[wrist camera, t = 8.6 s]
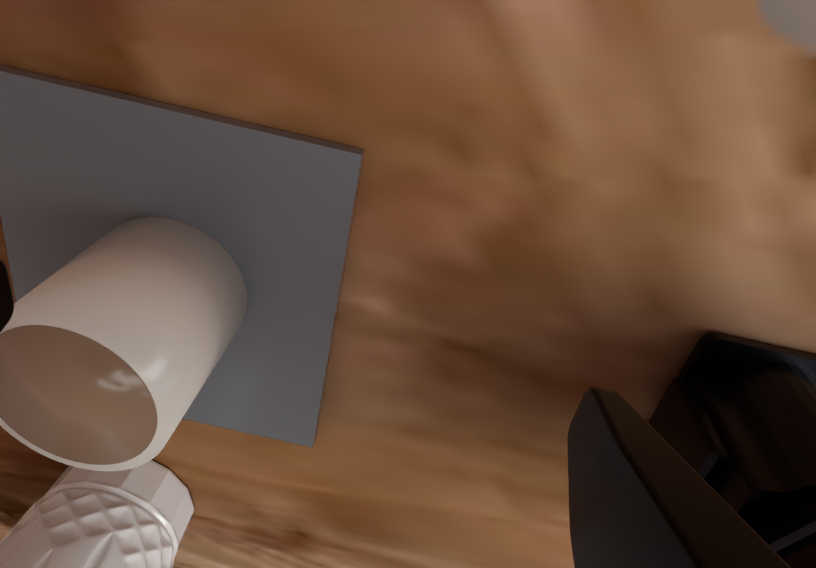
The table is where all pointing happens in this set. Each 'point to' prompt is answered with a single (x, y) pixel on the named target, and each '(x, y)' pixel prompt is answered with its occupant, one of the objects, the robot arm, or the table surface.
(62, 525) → the white cup
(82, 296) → the espresso cup
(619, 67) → the table surface
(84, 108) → the slate board
